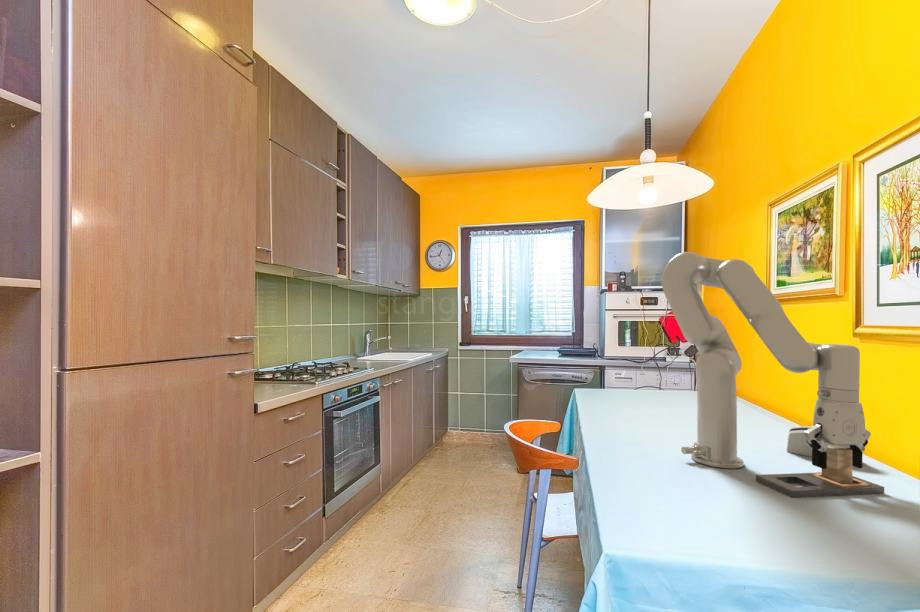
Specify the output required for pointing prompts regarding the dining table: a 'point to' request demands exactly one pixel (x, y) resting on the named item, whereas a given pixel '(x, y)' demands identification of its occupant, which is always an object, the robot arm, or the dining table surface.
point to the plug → (838, 465)
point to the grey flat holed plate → (816, 485)
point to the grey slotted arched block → (801, 441)
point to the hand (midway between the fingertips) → (836, 466)
